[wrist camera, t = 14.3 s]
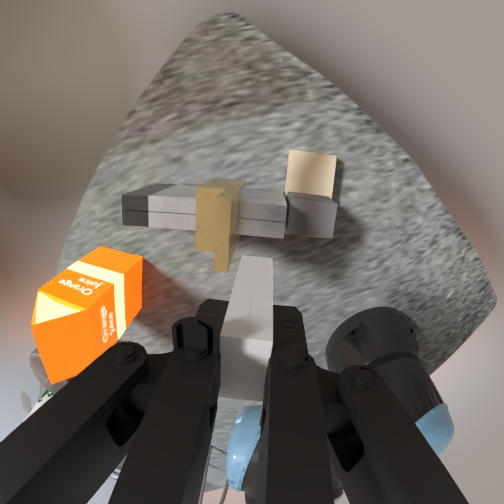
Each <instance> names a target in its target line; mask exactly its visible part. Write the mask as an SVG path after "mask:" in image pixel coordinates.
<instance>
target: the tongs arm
mask: <svg viewBox="0 0 504 504" xmlns="http://www.w3.org/2000/svg"><path fill="white" fill-rule="evenodd" d="M198 186H200V185H179V184H153V185H150V186H147V187H144V188H141V189H138V190H135V191H132V192H129V193H126V194H123V195H122V210H137V211H154V212H171V213H186V214H196V188H197V187H198ZM286 212H287V204H286V201H285V198H284V195H283V192H278V191H268V190H257V189H245V188H243V189H242V191H241V192H240V196H239V210H238V218H248V219H259V220H270V221H280V222H285V221H286Z"/></svg>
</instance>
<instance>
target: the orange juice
mask: <svg viewBox="0 0 504 504" xmlns="http://www.w3.org/2000/svg"><path fill="white" fill-rule="evenodd" d="M142 260H143V257H140V256H136V255H132V254H128V253H124V252H120V251H116V250H112V249H108V248H104V247H99V248H97V249H95V250H94V251H92V252H91V253H89V254H88V255H86V256H85V257H83V258H82V259H81V260H79V261H77V262H75V263H74V264H73V265H71V266H70V267H68V268H67V269H66V270H65V271H63V272H62V273H60V274H59V275H58V276H56V277H55V278H54V279H52V280H51V281H49V282H48V283H47V284H45V285H44V286H43V287H41V288H40V289H39V290H38V294H37V299H36V303H35V308H34V313H33V318H32V324H31V328H32V331H33V335H34V338H35V341H36V344H37V348H38V351H39V353H40V356H41V359H42V362H43V365H44V367H45V370H46V373H47V375H48V378H49V380H50V383H51V385H52V384H54V383H57V382H60V381H63V380H65V379H68V378H71V377H73V376H76V375H78V374H79V373H80V372H81V371H82V370H83V369H85V368H86V367H87V366H88V365H89V364H90V363H92V362H93V361H94V360H95V359H96V358H97V357H99V356H100V355H101V354H102V353H103V352H105V351H106V350H107V349H108V348H109V347H111V346H113V345H114V344H115V343H116V342H117V340H119V338H120V337H121V335H122V334H123V333H124V331H125V330H126V328H127V327H128V325H129V324H130V322H131V321H132V320H133V318H134V317H135V316H136V314H137V313H138V312H139V310H140V309H141V308H142Z"/></svg>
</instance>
